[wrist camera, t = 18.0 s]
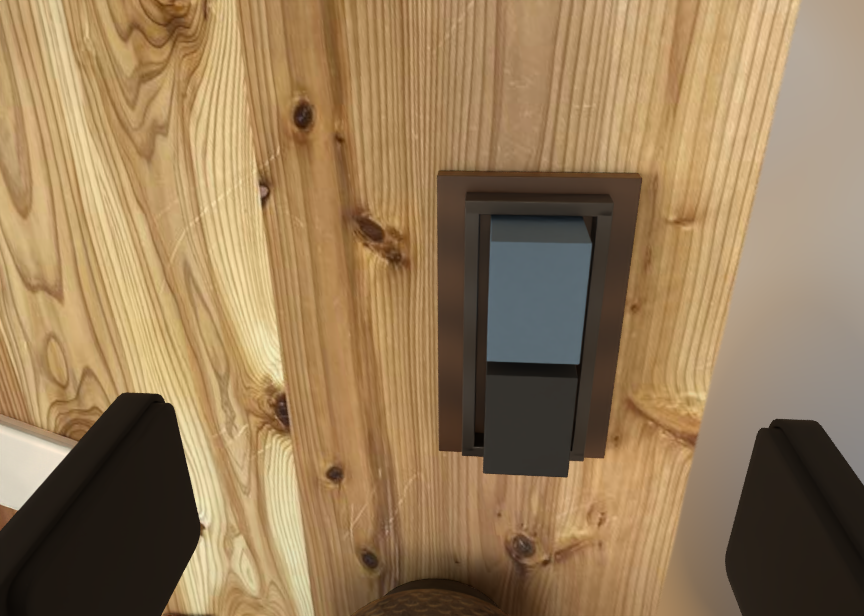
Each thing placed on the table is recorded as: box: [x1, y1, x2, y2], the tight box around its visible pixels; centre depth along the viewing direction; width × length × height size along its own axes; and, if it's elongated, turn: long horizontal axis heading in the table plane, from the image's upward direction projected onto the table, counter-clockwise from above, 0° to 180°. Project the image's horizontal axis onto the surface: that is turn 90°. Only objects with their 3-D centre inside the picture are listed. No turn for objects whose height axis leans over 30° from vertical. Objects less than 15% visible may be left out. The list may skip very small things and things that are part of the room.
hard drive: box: [0, 414, 78, 510], centre depth 50 cm, size 2×8×12 cm
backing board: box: [437, 171, 642, 461], centre depth 40 cm, size 19×11×2 cm, turn 1°
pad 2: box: [483, 354, 578, 477], centre depth 40 cm, size 7×5×4 cm
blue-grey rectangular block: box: [487, 215, 592, 364], centre depth 37 cm, size 7×5×4 cm
